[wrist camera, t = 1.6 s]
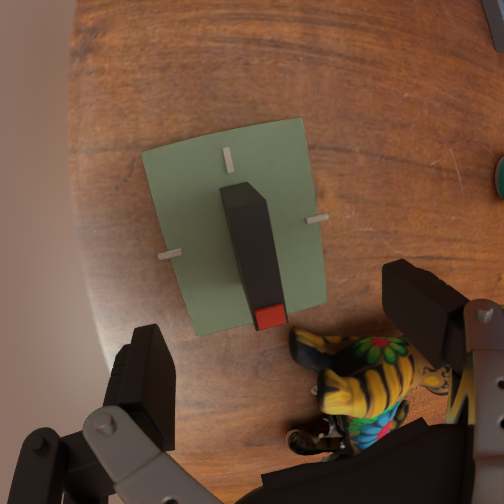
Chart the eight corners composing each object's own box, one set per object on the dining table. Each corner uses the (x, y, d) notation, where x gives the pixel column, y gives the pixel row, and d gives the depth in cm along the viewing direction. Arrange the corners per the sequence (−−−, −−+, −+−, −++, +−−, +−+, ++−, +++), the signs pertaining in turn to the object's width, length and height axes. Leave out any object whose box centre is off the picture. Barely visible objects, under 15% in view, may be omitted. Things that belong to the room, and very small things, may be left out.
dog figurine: (280, 412, 34) (416, 376, 35) (298, 507, 24) (452, 455, 24) (258, 288, 23) (460, 245, 23) (289, 451, 13) (546, 347, 13)
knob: (219, 188, 17) (228, 210, 12) (247, 181, 17) (267, 201, 12) (241, 284, 19) (257, 334, 15) (267, 278, 20) (290, 325, 15)
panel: (139, 152, 19) (129, 155, 16) (296, 117, 19) (313, 115, 16) (188, 315, 23) (187, 340, 20) (321, 281, 24) (337, 301, 21)
